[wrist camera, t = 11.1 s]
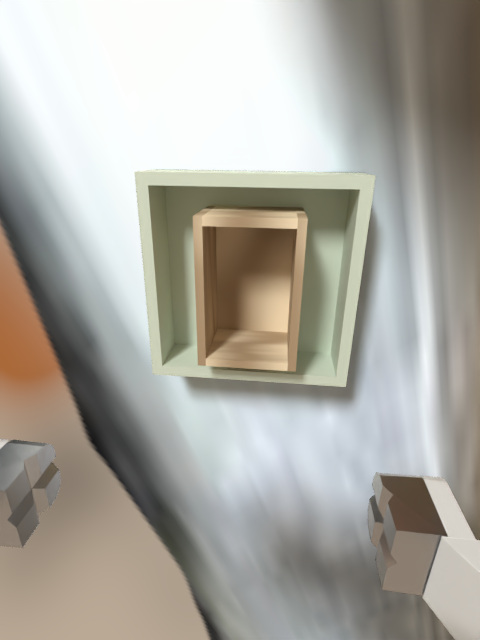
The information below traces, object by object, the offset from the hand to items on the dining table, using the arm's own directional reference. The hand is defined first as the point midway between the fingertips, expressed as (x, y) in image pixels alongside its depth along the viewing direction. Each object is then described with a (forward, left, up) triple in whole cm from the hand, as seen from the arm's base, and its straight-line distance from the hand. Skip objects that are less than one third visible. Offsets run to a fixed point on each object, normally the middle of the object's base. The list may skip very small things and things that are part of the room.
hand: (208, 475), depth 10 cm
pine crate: (0, 0, -18) cm, 18 cm away
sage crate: (0, 0, -19) cm, 19 cm away
